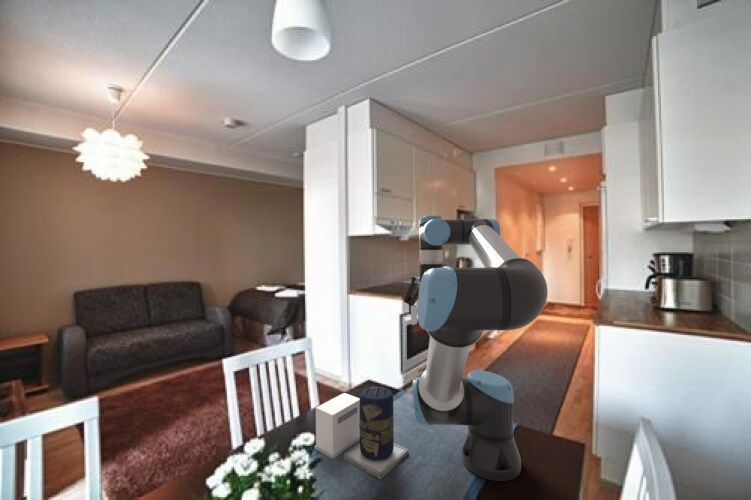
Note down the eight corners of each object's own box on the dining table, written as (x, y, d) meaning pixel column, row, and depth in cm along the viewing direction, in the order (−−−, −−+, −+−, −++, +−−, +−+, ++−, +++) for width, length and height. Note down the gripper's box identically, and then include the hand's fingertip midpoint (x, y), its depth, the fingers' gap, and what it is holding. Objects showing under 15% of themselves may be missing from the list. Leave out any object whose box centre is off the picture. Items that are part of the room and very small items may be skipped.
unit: (362, 437, 100) (362, 398, 100) (333, 459, 90) (332, 416, 90) (344, 429, 105) (344, 392, 105) (314, 448, 95) (314, 407, 95)
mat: (408, 453, 92) (408, 449, 92) (380, 479, 82) (380, 475, 82) (372, 436, 100) (372, 433, 100) (343, 458, 90) (343, 454, 90)
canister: (353, 458, 89) (353, 393, 88) (367, 439, 98) (367, 379, 97) (387, 467, 85) (386, 399, 85) (398, 446, 94) (397, 384, 94)
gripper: (472, 263, 103) (472, 330, 103) (405, 261, 118) (406, 319, 119) (462, 264, 97) (462, 335, 97) (393, 262, 112) (394, 323, 113)
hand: (431, 327), depth 108 cm, fingers open, 13 cm apart
